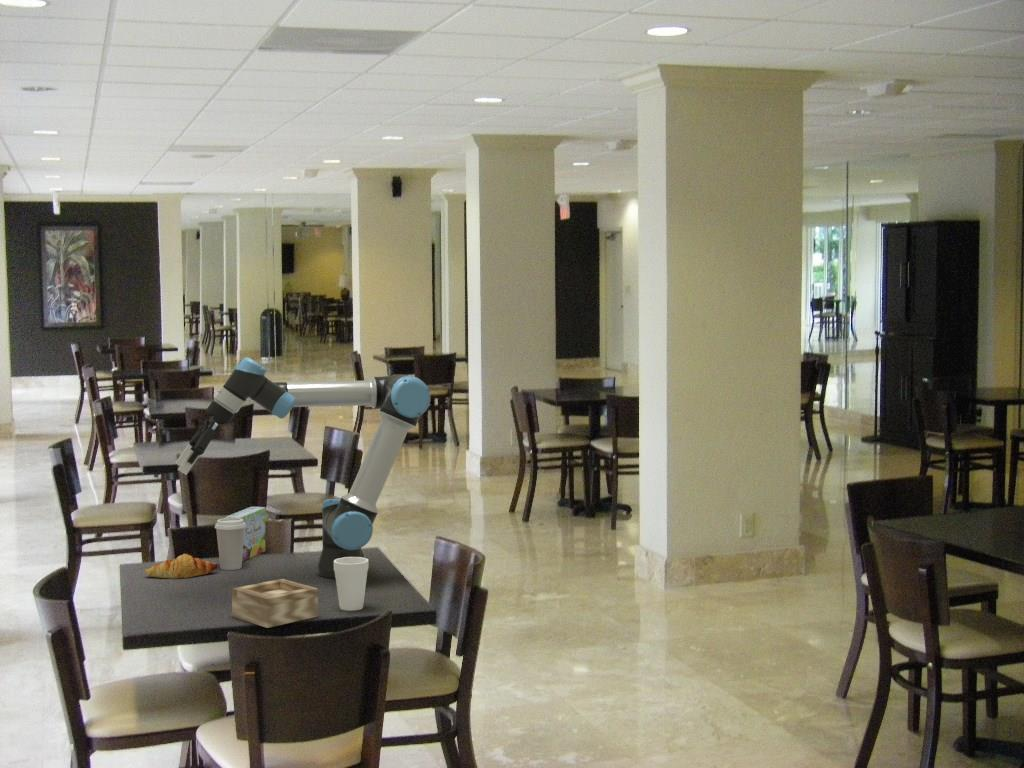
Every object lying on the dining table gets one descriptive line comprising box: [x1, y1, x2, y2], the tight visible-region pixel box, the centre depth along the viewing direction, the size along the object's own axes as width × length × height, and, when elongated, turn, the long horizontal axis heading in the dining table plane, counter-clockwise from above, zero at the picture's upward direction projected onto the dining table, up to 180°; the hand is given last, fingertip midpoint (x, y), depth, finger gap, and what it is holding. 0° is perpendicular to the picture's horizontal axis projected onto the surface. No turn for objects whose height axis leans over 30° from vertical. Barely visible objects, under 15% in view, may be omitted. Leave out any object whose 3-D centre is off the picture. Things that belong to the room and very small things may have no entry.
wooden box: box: [231, 578, 319, 629], centre depth 326 cm, size 16×16×8 cm
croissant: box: [144, 553, 218, 580], centre depth 373 cm, size 21×10×8 cm, turn 109°
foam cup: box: [334, 557, 370, 612], centre depth 335 cm, size 10×9×13 cm
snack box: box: [224, 506, 267, 563], centre depth 398 cm, size 21×6×15 cm, turn 168°
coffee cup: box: [214, 517, 246, 571], centre depth 383 cm, size 10×10×15 cm
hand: (180, 469), depth 347 cm, fingers open, 13 cm apart
